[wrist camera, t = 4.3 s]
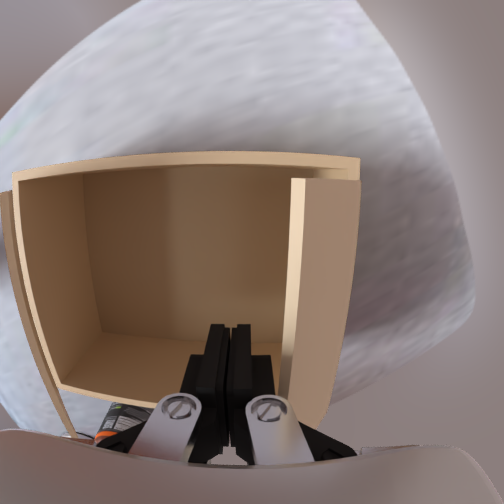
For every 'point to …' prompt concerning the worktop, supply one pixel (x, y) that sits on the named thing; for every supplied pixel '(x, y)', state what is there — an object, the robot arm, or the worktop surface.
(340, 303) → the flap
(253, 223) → the carton
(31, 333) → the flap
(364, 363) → the worktop surface
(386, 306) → the worktop surface
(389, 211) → the worktop surface
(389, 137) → the worktop surface
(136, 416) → the supplement bottle
